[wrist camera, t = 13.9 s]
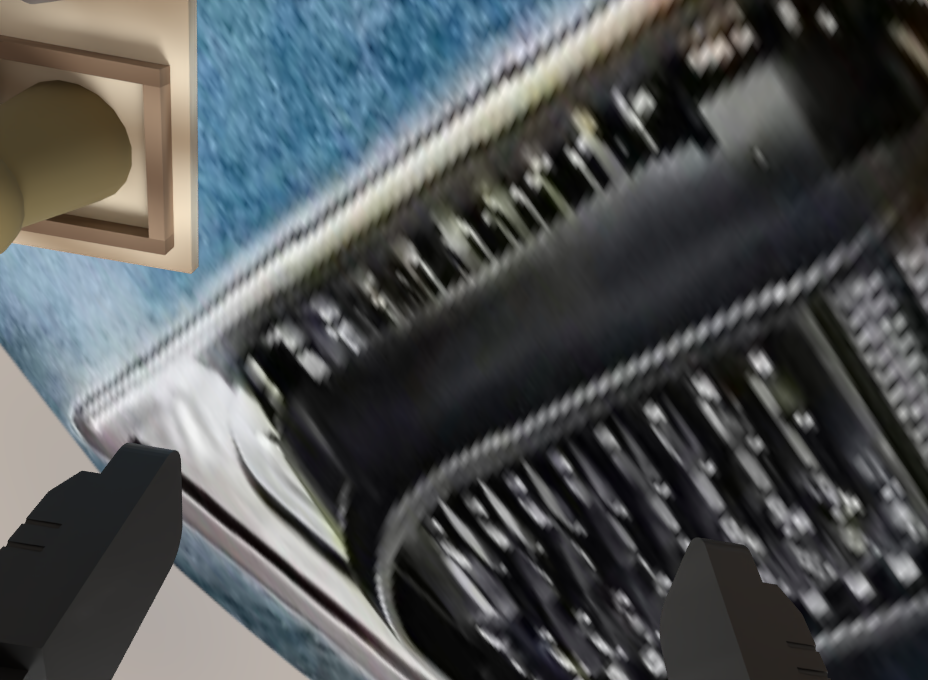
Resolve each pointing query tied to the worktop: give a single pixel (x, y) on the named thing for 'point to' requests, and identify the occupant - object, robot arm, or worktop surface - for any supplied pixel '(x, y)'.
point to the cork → (57, 154)
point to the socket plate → (138, 107)
